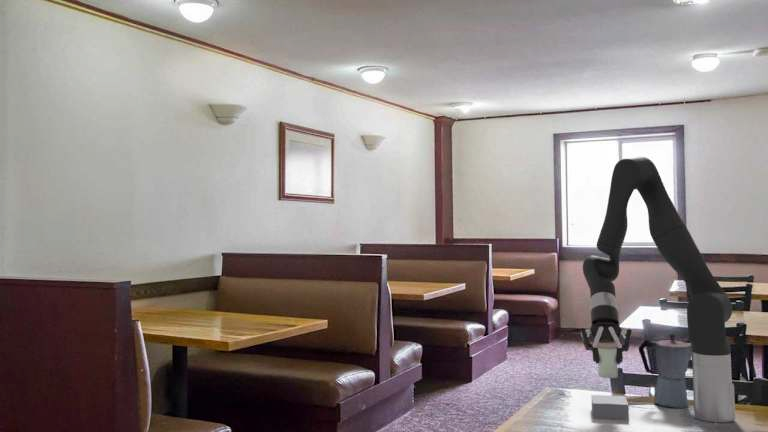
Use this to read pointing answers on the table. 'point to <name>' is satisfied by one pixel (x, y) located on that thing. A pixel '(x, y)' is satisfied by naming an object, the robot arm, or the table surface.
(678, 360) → the moka pot
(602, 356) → the canister
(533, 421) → the table surface
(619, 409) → the stand
